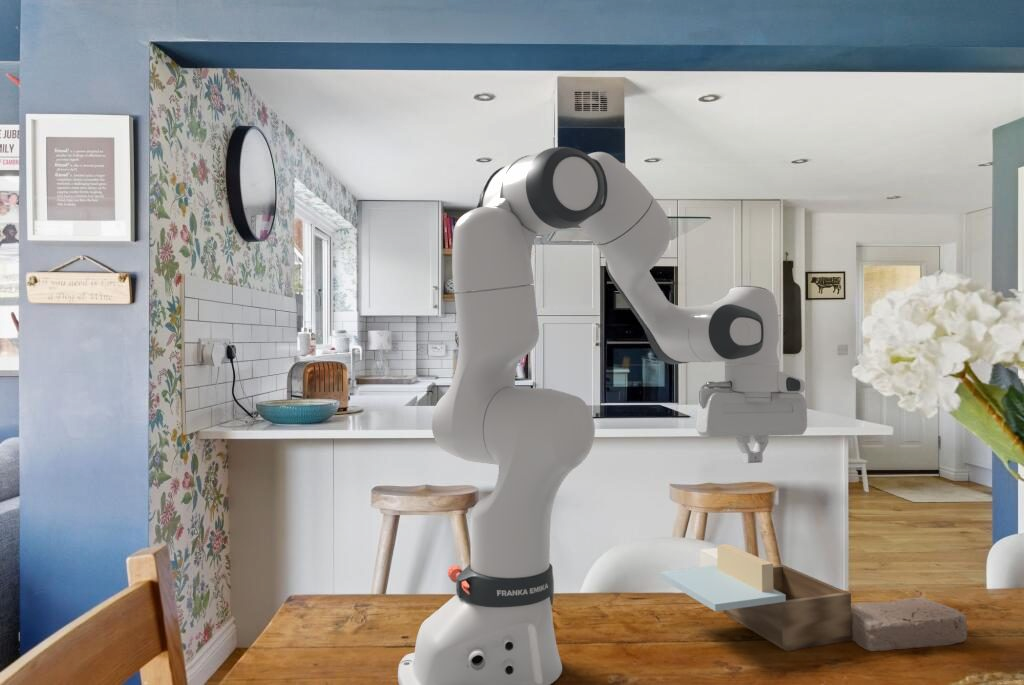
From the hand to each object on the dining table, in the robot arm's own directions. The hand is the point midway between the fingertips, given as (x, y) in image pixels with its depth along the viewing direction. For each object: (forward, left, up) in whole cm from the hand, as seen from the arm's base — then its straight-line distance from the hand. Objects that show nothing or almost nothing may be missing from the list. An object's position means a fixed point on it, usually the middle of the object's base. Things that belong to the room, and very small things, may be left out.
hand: (752, 462), depth 113 cm
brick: (+14, -16, -26) cm, 33 cm away
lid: (-12, -7, -18) cm, 23 cm away
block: (-2, +7, -25) cm, 26 cm away
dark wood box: (0, -7, -25) cm, 26 cm away
